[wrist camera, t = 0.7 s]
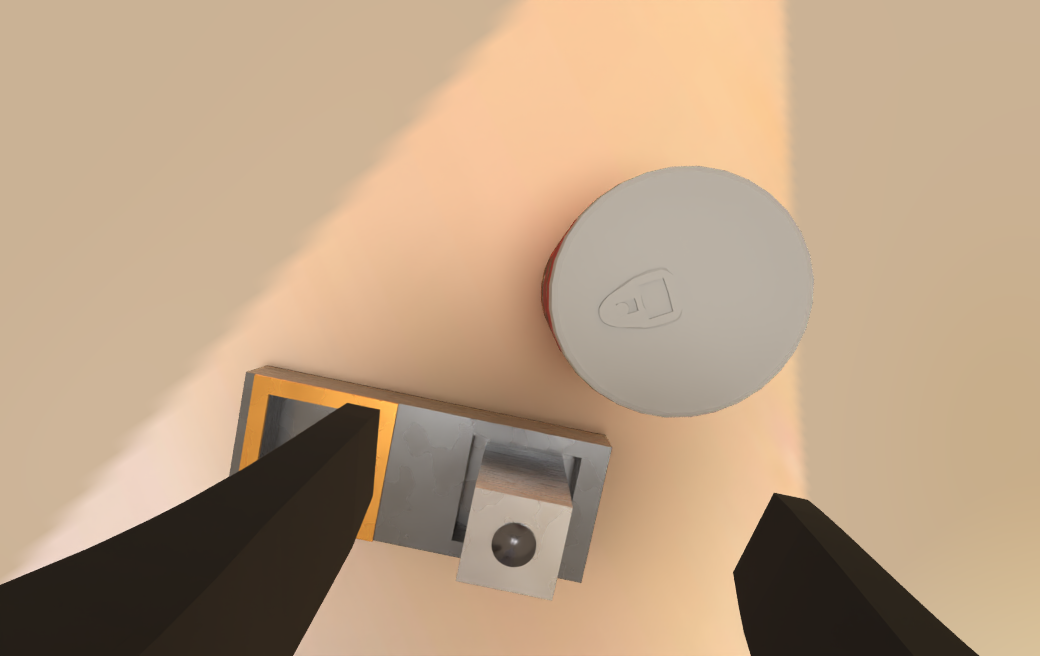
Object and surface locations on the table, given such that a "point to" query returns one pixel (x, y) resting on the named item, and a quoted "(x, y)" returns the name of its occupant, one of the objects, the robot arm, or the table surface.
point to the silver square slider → (517, 522)
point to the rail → (422, 457)
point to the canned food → (679, 291)
